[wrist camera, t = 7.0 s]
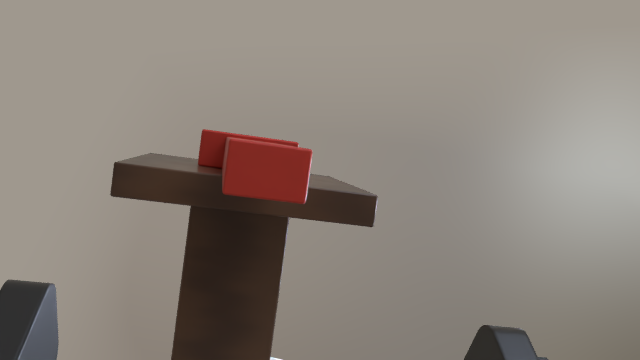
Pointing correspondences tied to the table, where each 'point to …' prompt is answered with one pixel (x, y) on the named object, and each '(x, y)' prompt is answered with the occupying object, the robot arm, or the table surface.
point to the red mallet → (257, 166)
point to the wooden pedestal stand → (232, 250)
